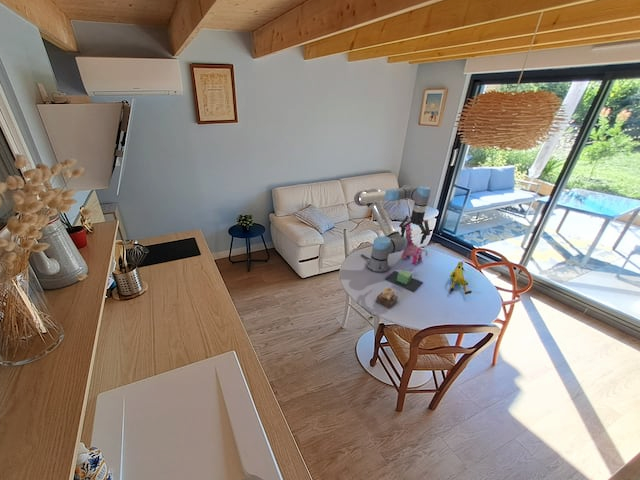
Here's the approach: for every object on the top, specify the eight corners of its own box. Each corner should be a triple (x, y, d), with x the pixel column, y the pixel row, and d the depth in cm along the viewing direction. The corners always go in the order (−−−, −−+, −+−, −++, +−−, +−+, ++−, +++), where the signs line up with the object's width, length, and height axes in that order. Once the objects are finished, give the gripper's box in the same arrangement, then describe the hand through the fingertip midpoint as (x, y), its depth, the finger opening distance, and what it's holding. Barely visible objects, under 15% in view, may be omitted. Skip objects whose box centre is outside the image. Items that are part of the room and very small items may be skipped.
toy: (398, 251, 234) (406, 217, 219) (427, 264, 215) (438, 228, 200) (391, 254, 230) (399, 219, 215) (421, 268, 211) (431, 231, 196)
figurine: (464, 282, 177) (462, 256, 199) (446, 288, 184) (446, 262, 206) (474, 295, 179) (471, 267, 200) (456, 300, 186) (455, 273, 208)
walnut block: (376, 301, 178) (377, 296, 176) (383, 295, 183) (384, 290, 181) (389, 308, 172) (390, 302, 170) (396, 301, 178) (397, 296, 176)
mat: (385, 279, 198) (385, 278, 198) (394, 271, 207) (394, 270, 207) (413, 291, 186) (413, 290, 186) (422, 282, 195) (422, 282, 194)
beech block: (381, 296, 176) (382, 290, 173) (385, 292, 179) (386, 287, 176) (389, 300, 173) (390, 294, 170) (393, 296, 176) (394, 290, 173)
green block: (396, 280, 196) (398, 273, 193) (401, 276, 200) (402, 269, 197) (406, 284, 192) (408, 277, 189) (410, 280, 196) (412, 273, 193)
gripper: (397, 207, 189) (391, 236, 200) (436, 217, 173) (427, 248, 184) (403, 204, 194) (397, 232, 204) (441, 214, 178) (432, 244, 188)
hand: (411, 240), depth 194 cm, fingers open, 13 cm apart
